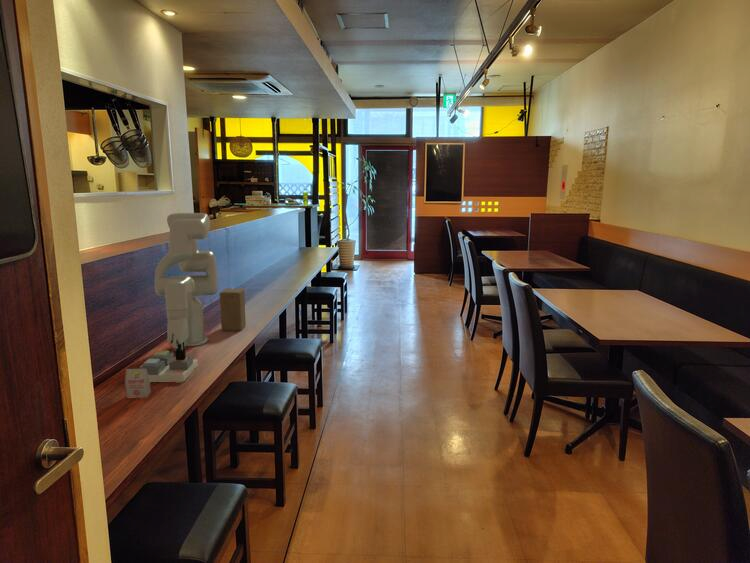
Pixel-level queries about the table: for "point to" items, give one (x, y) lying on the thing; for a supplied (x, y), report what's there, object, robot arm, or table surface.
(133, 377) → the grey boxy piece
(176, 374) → the button panel
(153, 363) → the slate button
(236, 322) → the wooden block
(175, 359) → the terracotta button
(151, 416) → the table surface
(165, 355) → the sage button
